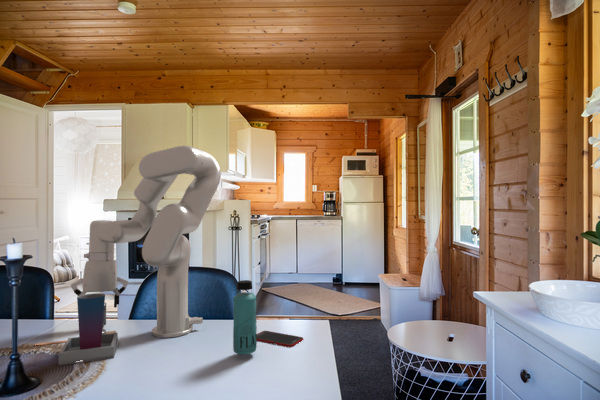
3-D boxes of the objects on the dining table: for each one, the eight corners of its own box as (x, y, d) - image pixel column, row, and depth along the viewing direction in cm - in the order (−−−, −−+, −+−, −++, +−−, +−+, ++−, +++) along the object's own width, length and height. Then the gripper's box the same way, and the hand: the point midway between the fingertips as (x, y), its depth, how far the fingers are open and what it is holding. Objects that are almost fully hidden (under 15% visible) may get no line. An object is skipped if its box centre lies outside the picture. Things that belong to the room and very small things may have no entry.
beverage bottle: (237, 362, 97) (237, 284, 98) (229, 353, 103) (229, 279, 104) (260, 357, 100) (260, 281, 101) (252, 349, 106) (251, 277, 107)
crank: (104, 337, 115) (105, 313, 115) (86, 339, 113) (86, 315, 113) (110, 322, 130) (110, 301, 130) (93, 324, 128) (93, 303, 128)
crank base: (115, 332, 122) (115, 330, 122) (113, 340, 115) (113, 338, 115) (38, 341, 114) (38, 339, 114) (30, 350, 107) (30, 348, 107)
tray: (117, 342, 113) (117, 332, 113) (113, 357, 101) (113, 346, 101) (68, 348, 108) (68, 338, 108) (58, 365, 96) (58, 353, 96)
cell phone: (264, 333, 122) (264, 330, 122) (304, 340, 114) (304, 337, 114) (249, 340, 115) (249, 337, 115) (291, 348, 108) (291, 345, 108)
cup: (92, 356, 100) (92, 298, 101) (70, 354, 102) (71, 298, 102) (110, 347, 107) (110, 293, 108) (89, 345, 109) (89, 292, 109)
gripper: (69, 259, 122) (67, 312, 121) (128, 257, 128) (127, 308, 128) (74, 256, 129) (72, 307, 128) (130, 255, 135) (128, 303, 135)
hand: (99, 307), depth 128 cm, fingers open, 9 cm apart
